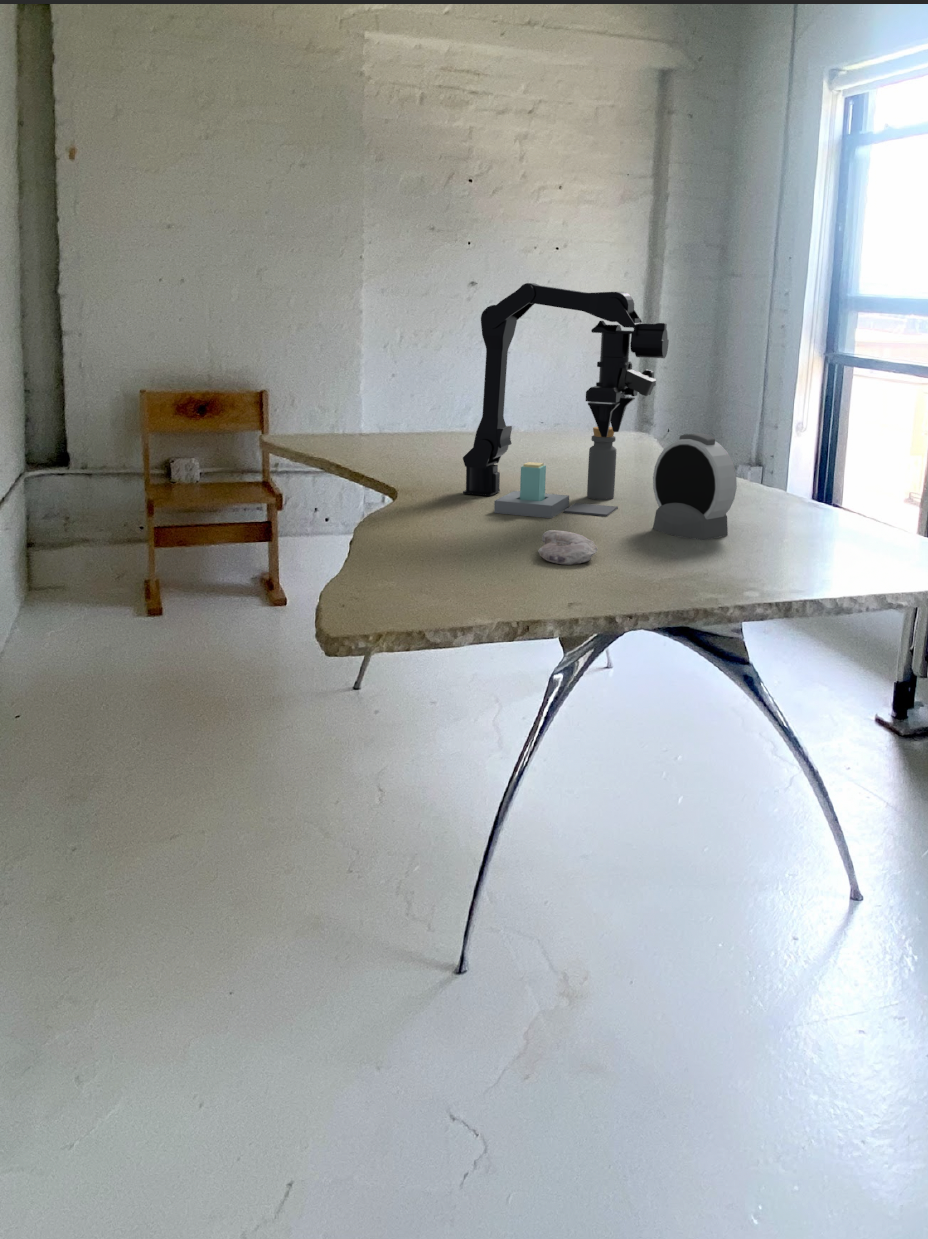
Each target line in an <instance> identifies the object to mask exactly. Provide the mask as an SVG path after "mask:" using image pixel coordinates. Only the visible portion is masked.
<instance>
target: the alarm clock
mask: <svg viewBox="0 0 928 1239" xmlns="http://www.w3.org/2000/svg"><path fill="white" fill-rule="evenodd" d="M652 475H653V476H652V487H653V488H652V489H653V490H652V491H653V493H654V497H655V501H656V503H657V506H658V508H657V509H656V510H655V516H654V521H653V527H652V529H653V530H656V531H658V532H660V533H663V534H667V535H670V536H675V537H681V538H686V539H692V540H698V541H706V540H712V539H716V538H721V537H728V534H729V533H728V532H729V529H728V515H727V513H728V512H729V510H731V507H732V505H733V503H734V501H735V499H736V498H735V496H736V493H737V484H738V483H737V481H738V480H737V471H736V469H735V464H734V462H733V460H732V457H731V456H730V453H728V451H727V450H726V449H725V448H724V447H723V446H722V445H721V444H720V443H719V442H717V441H716V439H715V438H714V437H713V436H712V435H710V434H707V433H703V432H695V433H686V434H681V435H680V436H679V439H678V440H675V441H673V442H671V443H669V444H668V445H667V446H665V448H663V450H662V451H661V452H660V454H659V455H658V457H657V460H656V463H655V464H654V469H653V474H652Z"/></svg>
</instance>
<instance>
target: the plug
mask: <svg viewBox="0 0 928 1239" xmlns="http://www.w3.org/2000/svg"><path fill="white" fill-rule="evenodd" d="M546 473H547V465H545V464H544V462H533V461H528V462H526V463H523V465H522V466H520V481H519V482H520V483H519V484H520V486H519V487H520V488H519V489H520V490H519V491H520V500H531V501H543V500H544V499H545V493H546V479H547V478H546V475H547V474H546Z"/></svg>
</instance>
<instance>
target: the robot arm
mask: <svg viewBox="0 0 928 1239" xmlns="http://www.w3.org/2000/svg"><path fill="white" fill-rule="evenodd" d="M633 299H634V298H633V297H632V296H631V294H629V293H627V292H624V291H602V292H586V291H579V290H578V291H577V290H572V289H571V290H570V289H565V288H559V287H552V286H545V285H540V284H537V283H533V282H532V283H531V282H530V283H529V282H527V283H523V284H522V285H521V286H520V287H519V288H518V289H517V290H515V291H514V292H512V293H511V294H509V295H507V296H506V297H505V298H503V299H502V300H501V301H499V302H498V303H497V304H492V305H489V306H487V307H486V308H485V309H484V310H483V311H482V312H481V315H480V328H481V335H482V339H483V342H484V345H485V350H486V351H485V352H486V353H485V366H484V367H485V369H484V382H483V384H484V385H483V386H484V387H483V401H482V402H483V403H482V416H481V419H480V421H479V424H478V426H477V429H476V432H475V435H474V441H473V445H472V446H473V447H472V448H471V449H469V451H468V452H466V454H465V455H463V457H462V460H463V464H464V467H465V468H466V470H465V471H466V472H465V473H466V474H465V490H463V491H462V494H464V495H474V496H475V495H476V496H486V497H487V496H488V497H491V496H493V495H496V494H497V493H500V492H501V490H500V484H501V483H500V480H501V479H500V478H501V477H500V476H501V473H500V471H499V470H498V469H499V468H498V467H499V466H498V465H499V462H500V460H501V457H502V456H504V455H505V453H506V452H507V451H508V449H509V446H511V445H512V440H511V439H512V438H511V435H512V430H513V426H512V425H507V424H506V422H505V417H504V415H505V414H504V413H505V411H504V410H505V399H506V398H505V397H506V385H507V384H506V383H507V368H508V351H509V348H510V346H511V343H512V340H513V337H514V335H515V331H516V326H517V321H518V320H519V319H520V318H522V317H523V316H524V315H525V314H527V312H529V310H530V309H531V308H532V307H533V306H534V305H542V306H547V307H554V308H560V309H567V310H574V311H578V312H579V311H580V312H584V313H587V314H589V315H591V316H594V317H596V318H600V319H601V320H599V321H598V323H597V324H596V325H595V326H594V327H593V328H592V329H591V333H593V334H594V333H595V334H600V335H601V337H600V338H601V340H600V357H599V361H597V364H596V368H599V376H598V378H599V379H598V381H597V382H596V383H595V385H594V386H590V388H588V389H587V390H586V391H585V402H587V405H588V406H589V410H590V411H591V413H592V416H593V418H594V421H595V423H596V427H598V429H599V431H600V434H601V436H602V437H607V435H608V430H609V427H612V429H613V432H614V433H618V432H619V431H620V428H621V425H622V421H623V419H624V416H625V412H626V410H627V406H628V405H629V404H630V403H632V402H633V401H634V400H636V397H637V396H638V393H639V395H642V396H644V397H648V396H650V395H651V394H652V392H653V389H654V388H655V387H656V385H657V384H656V382H657V378H655V372H654V370H650V369H645V370H643V371H642V372H641V371H636V370H634V369H633V363H632V361H630V360H629V359H630V351H631V352H632V353H633V354H635V357H636V358H642V359H643V358H645V359H646V358H647V359H650V358H651V359H666V357H667V354H668V349H669V339H668V338H669V336H668V330H667V325H668V324H667V322H658V323H644V322H643V321H642V319H641V318H640V316H639V315H638V313H637V312H636V309H635V302H634V301H635V300H633ZM605 321H607V322H611V323H618V324H607V323H606V322H605ZM621 326H622V327H621ZM622 328H630V329H631V328H633V330H624V329H623V330H622ZM629 396H631V397H629ZM610 425H611V426H610Z"/></svg>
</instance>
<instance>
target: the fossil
mask: <svg viewBox="0 0 928 1239" xmlns="http://www.w3.org/2000/svg"><path fill="white" fill-rule="evenodd" d="M541 537H542V539H541V541H542V542H543V543H544V544H543V545H542V546H540V548H539V549H538V550H537V552H538V554H539V556H540V557H541V558H543V560H545V561H546V562H550V563H553V564H557V565H567V566H571V565H576V564H577V565H578V564H583V563H587V562H589V561H590V560H591V558H592V557H593V556H594V555H595V554H596V553H597V552H598V546H597V545H596V544H595V541H593V540H592V539H589V538H587V537H586V536H584V535H582V534H579V533H575V532H570V531H566V530H557V529H556V530H554V529H551V530H547V531H545V532H543V534H542V536H541Z"/></svg>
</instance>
